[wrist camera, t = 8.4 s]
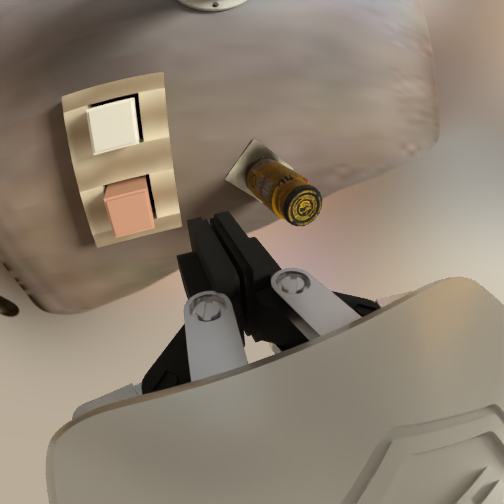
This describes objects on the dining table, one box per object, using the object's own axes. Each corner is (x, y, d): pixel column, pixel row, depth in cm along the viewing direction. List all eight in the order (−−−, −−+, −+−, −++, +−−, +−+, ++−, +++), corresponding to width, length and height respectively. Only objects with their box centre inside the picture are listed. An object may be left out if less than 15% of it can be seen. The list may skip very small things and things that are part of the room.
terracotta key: (108, 182, 31) (103, 199, 26) (145, 173, 32) (146, 188, 27) (116, 216, 33) (114, 239, 29) (151, 208, 35) (155, 229, 30)
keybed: (69, 96, 24) (61, 96, 21) (160, 74, 27) (163, 71, 24) (99, 233, 35) (97, 248, 32) (177, 214, 39) (182, 226, 36)
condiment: (265, 204, 44) (305, 241, 34) (224, 179, 39) (257, 212, 29) (292, 168, 42) (339, 195, 33) (253, 138, 37) (297, 157, 28)
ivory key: (95, 107, 25) (85, 109, 20) (134, 97, 26) (133, 97, 22) (100, 145, 28) (93, 156, 23) (139, 136, 29) (139, 144, 24)
